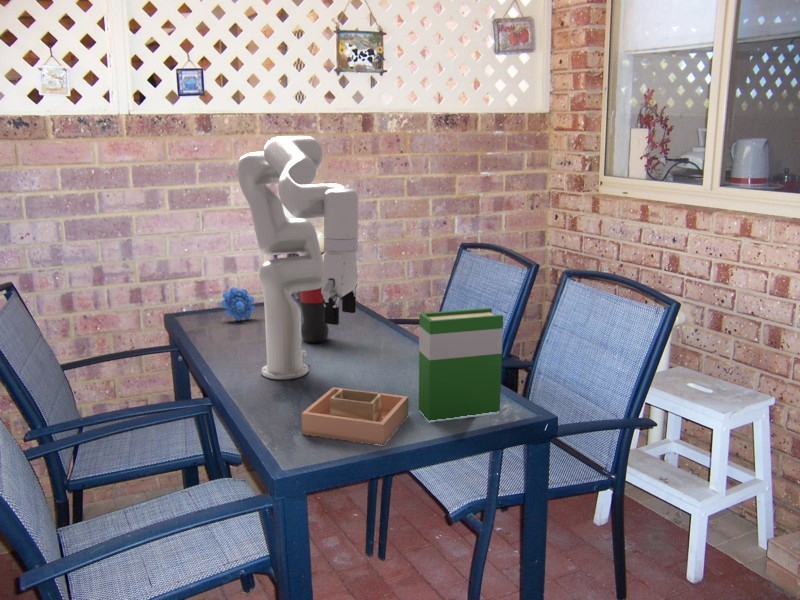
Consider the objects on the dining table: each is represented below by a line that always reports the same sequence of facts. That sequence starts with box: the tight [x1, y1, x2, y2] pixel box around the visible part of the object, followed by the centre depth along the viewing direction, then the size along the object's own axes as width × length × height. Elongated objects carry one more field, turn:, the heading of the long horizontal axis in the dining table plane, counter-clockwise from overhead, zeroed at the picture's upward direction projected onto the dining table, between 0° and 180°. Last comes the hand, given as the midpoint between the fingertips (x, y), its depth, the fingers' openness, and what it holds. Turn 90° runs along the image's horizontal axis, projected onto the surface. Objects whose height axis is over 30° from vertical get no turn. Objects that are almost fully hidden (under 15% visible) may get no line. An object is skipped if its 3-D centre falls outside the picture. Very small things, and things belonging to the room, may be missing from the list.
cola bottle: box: [300, 287, 329, 344], centre depth 227 cm, size 8×8×30 cm
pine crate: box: [330, 388, 382, 422], centre depth 166 cm, size 6×10×6 cm, turn 72°
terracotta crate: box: [300, 386, 409, 446], centre depth 166 cm, size 17×19×5 cm
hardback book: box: [418, 307, 504, 421], centre depth 171 cm, size 18×7×24 cm, turn 107°
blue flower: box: [220, 286, 256, 322], centre depth 250 cm, size 12×7×12 cm, turn 114°
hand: (340, 317), depth 168 cm, fingers open, 9 cm apart
